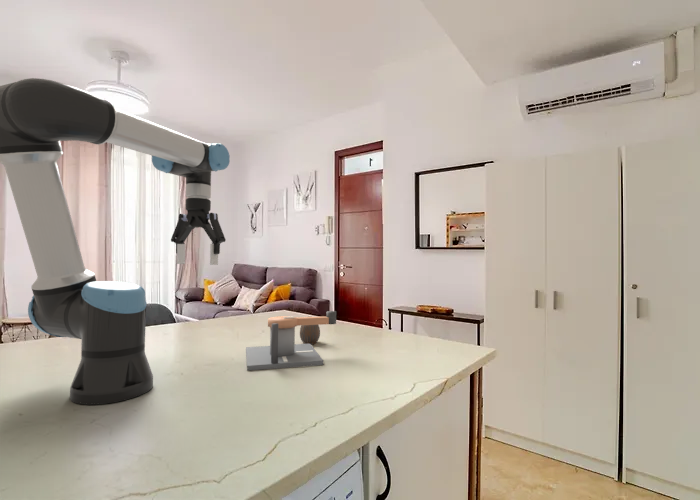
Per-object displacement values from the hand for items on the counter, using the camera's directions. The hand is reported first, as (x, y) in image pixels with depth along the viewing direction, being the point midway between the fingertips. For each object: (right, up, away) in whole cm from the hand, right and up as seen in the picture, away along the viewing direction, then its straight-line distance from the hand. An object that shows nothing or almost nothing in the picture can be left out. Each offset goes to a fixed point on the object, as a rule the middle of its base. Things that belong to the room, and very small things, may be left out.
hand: (197, 264), depth 121 cm
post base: (+30, -27, -12) cm, 42 cm away
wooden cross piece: (+36, -17, -10) cm, 41 cm away
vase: (+36, -27, +6) cm, 45 cm away
